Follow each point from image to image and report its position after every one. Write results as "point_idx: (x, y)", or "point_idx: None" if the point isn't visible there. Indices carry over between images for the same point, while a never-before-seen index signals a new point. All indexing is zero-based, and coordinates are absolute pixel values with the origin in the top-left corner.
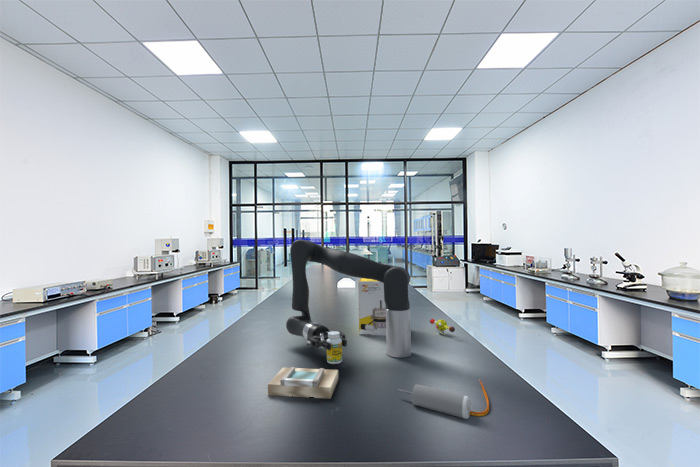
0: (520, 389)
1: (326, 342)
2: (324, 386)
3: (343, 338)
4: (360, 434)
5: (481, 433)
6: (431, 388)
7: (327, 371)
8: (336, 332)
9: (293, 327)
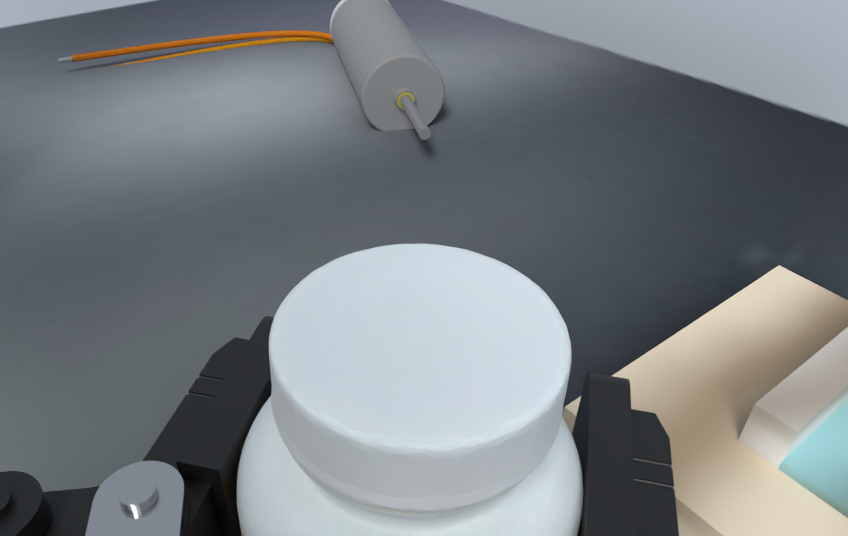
0: (67, 25)
1: (631, 451)
2: (819, 291)
3: (83, 502)
4: (739, 143)
5: (423, 33)
6: (386, 30)
7: (685, 450)
8: (357, 308)
9: None
